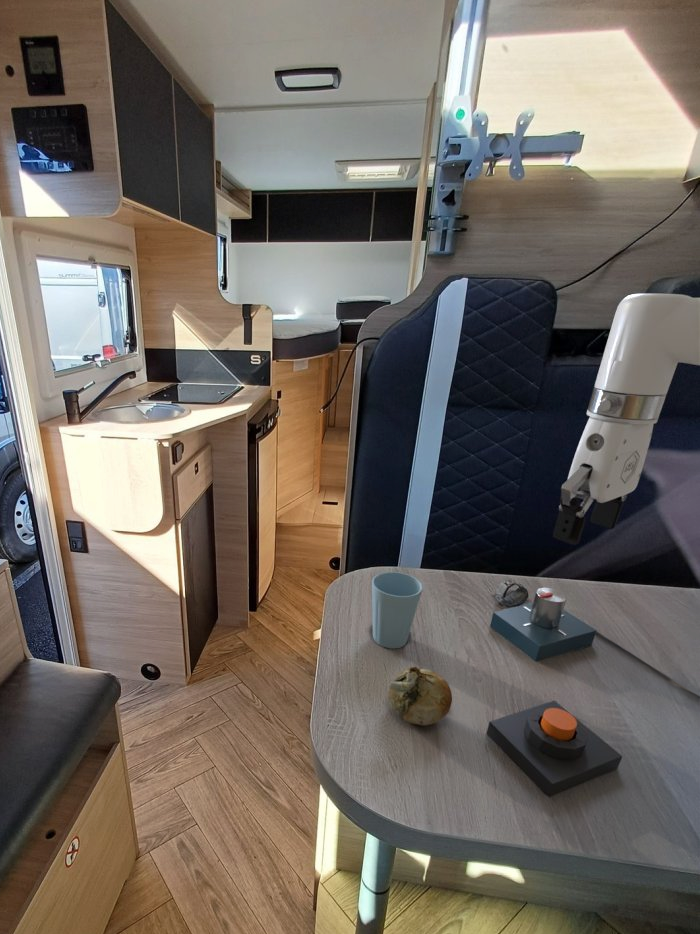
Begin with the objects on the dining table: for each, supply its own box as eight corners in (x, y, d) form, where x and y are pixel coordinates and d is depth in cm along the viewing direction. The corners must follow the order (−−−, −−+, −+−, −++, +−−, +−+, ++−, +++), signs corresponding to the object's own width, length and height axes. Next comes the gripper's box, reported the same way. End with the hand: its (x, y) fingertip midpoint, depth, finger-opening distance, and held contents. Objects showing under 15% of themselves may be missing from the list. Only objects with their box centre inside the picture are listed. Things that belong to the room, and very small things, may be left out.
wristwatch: (512, 613, 94) (532, 594, 94) (495, 597, 93) (516, 578, 92) (503, 606, 97) (523, 587, 96) (486, 590, 96) (506, 571, 95)
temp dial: (543, 611, 87) (551, 584, 85) (564, 625, 84) (573, 597, 81) (523, 616, 86) (530, 588, 84) (544, 630, 82) (552, 602, 80)
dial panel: (543, 613, 92) (547, 598, 91) (591, 645, 84) (597, 629, 83) (489, 626, 88) (493, 611, 87) (535, 661, 80) (540, 645, 79)
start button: (555, 715, 65) (559, 704, 64) (580, 736, 62) (584, 725, 61) (533, 722, 64) (537, 712, 63) (557, 744, 61) (561, 733, 60)
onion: (439, 745, 65) (450, 696, 61) (378, 722, 68) (385, 674, 65) (452, 707, 71) (462, 661, 67) (395, 688, 74) (402, 642, 71)
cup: (362, 624, 88) (368, 570, 84) (407, 625, 88) (416, 571, 84) (369, 652, 81) (376, 596, 77) (418, 653, 82) (428, 597, 77)
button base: (550, 712, 70) (557, 689, 69) (617, 769, 62) (627, 745, 60) (485, 734, 67) (492, 710, 65) (547, 797, 58) (556, 772, 57)
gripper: (622, 419, 56) (578, 559, 64) (688, 404, 65) (642, 529, 73) (556, 407, 61) (522, 537, 69) (625, 395, 70) (588, 511, 78)
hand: (584, 532), depth 71 cm, fingers open, 9 cm apart
